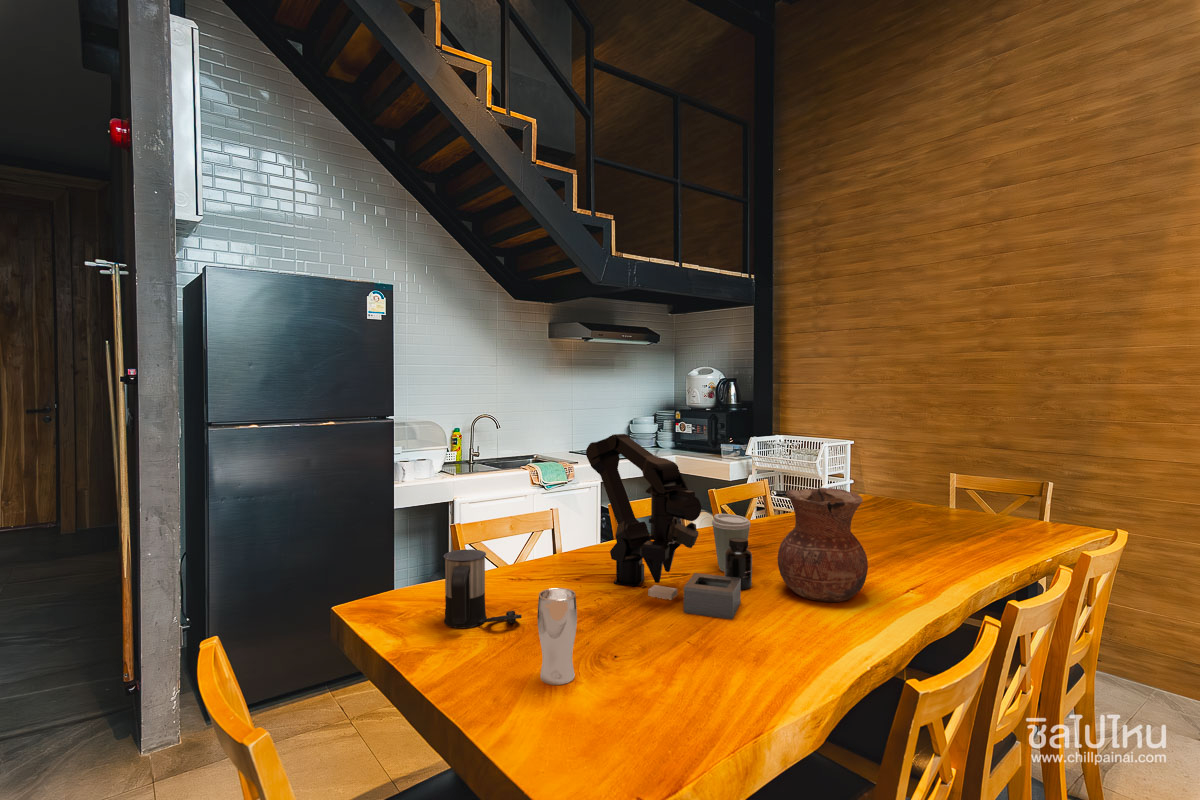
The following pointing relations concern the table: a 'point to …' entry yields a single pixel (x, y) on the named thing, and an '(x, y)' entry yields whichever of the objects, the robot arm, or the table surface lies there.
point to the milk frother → (467, 590)
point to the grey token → (662, 592)
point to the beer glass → (557, 634)
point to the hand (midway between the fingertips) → (662, 577)
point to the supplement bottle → (739, 561)
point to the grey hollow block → (712, 595)
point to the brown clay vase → (823, 546)
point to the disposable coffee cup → (728, 533)
